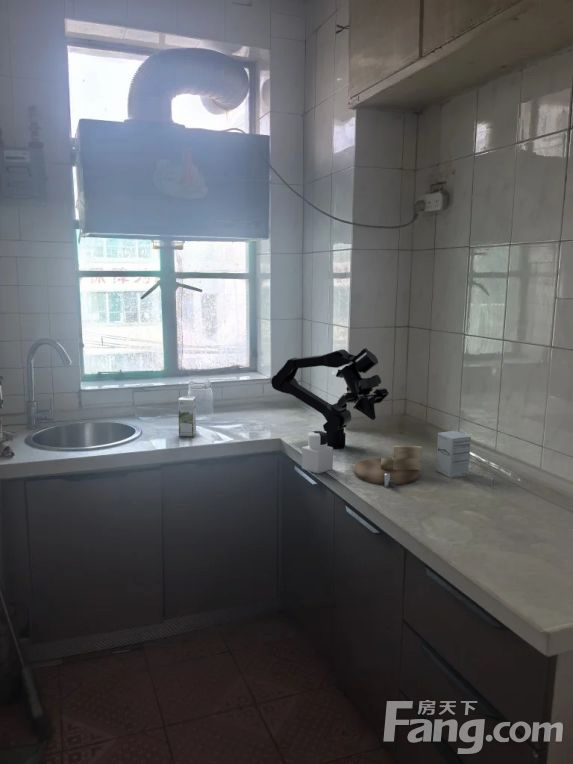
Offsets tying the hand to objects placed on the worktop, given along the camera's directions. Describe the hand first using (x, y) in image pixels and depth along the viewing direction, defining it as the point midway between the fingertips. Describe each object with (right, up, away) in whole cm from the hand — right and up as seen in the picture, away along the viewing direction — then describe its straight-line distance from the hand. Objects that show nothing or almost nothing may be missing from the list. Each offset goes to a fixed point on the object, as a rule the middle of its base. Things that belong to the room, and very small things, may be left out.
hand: (374, 419), depth 202 cm
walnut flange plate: (+2, -16, -14) cm, 21 cm away
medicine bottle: (-19, -15, -9) cm, 26 cm away
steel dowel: (0, -18, -25) cm, 31 cm away
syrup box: (-67, -8, +28) cm, 73 cm away
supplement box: (+23, -16, -12) cm, 30 cm away
